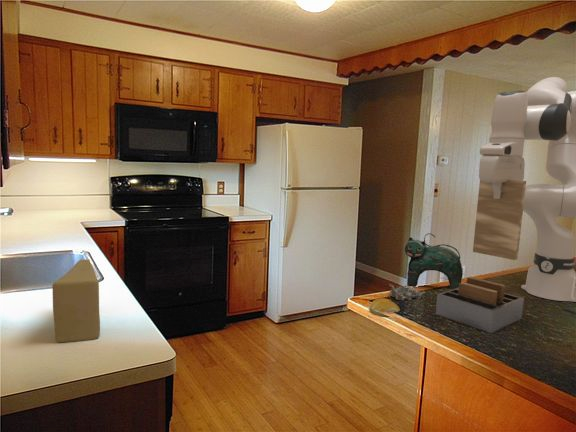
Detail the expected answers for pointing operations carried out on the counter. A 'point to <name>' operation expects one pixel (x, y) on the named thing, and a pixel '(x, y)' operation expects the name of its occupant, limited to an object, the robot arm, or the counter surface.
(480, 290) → the oak offcut
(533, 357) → the counter surface
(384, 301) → the bread roll
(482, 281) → the walnut offcut
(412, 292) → the egg carton
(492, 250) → the birch sheet
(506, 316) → the rack
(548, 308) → the counter surface
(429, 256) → the ceramic cat
